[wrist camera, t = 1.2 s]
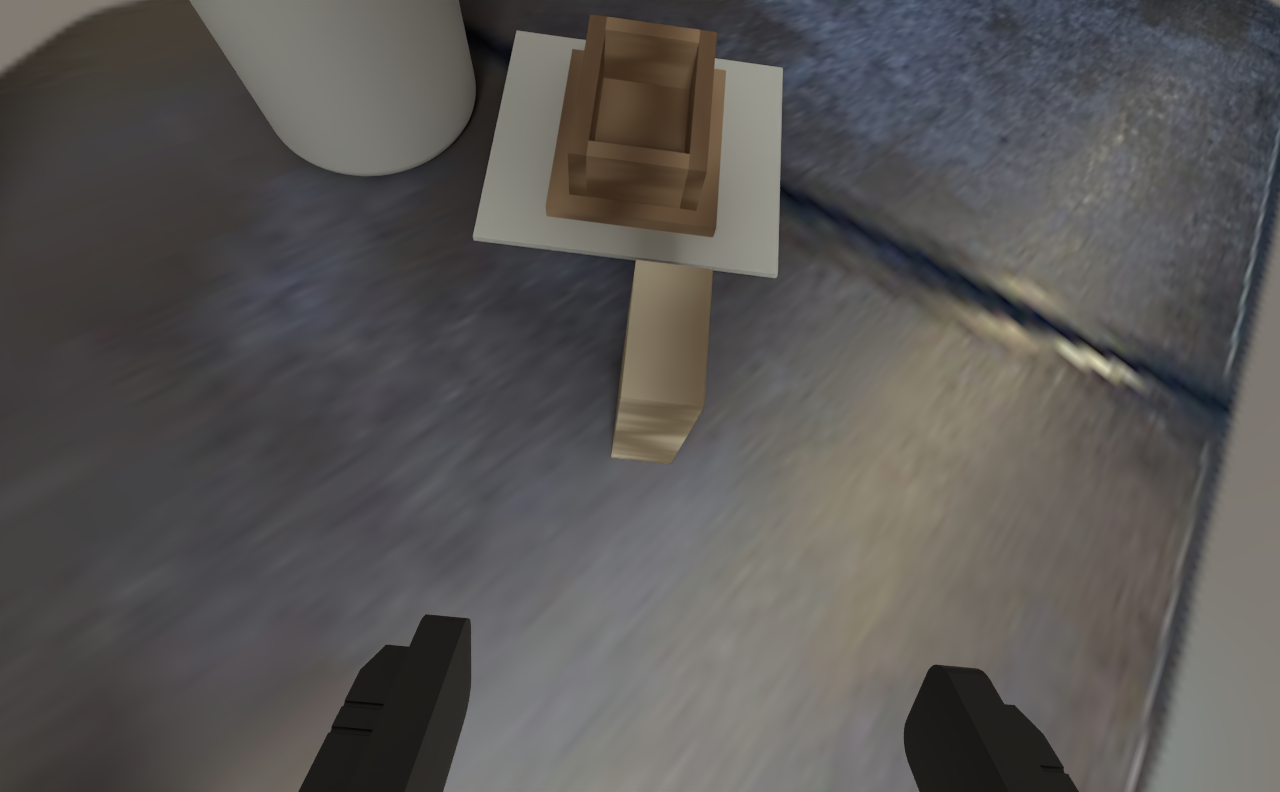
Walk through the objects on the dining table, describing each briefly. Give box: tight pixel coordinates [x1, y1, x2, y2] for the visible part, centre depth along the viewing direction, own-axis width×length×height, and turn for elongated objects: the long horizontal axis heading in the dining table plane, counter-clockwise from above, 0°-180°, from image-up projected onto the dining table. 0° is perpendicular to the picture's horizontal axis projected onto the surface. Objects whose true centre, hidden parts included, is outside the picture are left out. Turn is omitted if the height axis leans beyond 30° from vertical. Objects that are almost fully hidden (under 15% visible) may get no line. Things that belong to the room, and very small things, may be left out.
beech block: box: [611, 260, 713, 464], centre depth 29 cm, size 3×6×10 cm, turn 175°
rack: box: [546, 14, 726, 237], centre depth 37 cm, size 10×12×4 cm
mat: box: [473, 31, 783, 278], centre depth 39 cm, size 18×16×1 cm
